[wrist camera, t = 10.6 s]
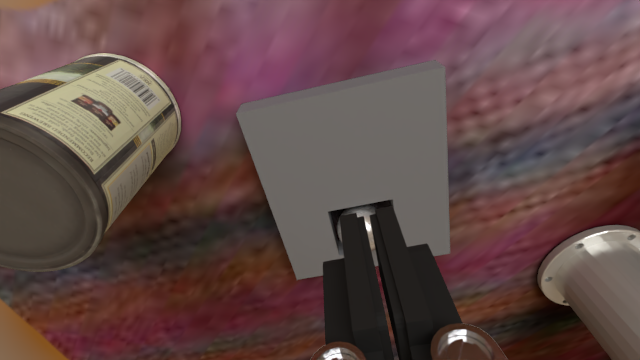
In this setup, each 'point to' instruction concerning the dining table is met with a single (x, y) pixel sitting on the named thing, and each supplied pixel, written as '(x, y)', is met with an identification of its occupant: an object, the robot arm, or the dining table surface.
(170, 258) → the dining table surface
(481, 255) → the dining table surface
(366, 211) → the steel ball
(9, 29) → the dining table surface
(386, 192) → the hole board
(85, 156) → the coffee can
